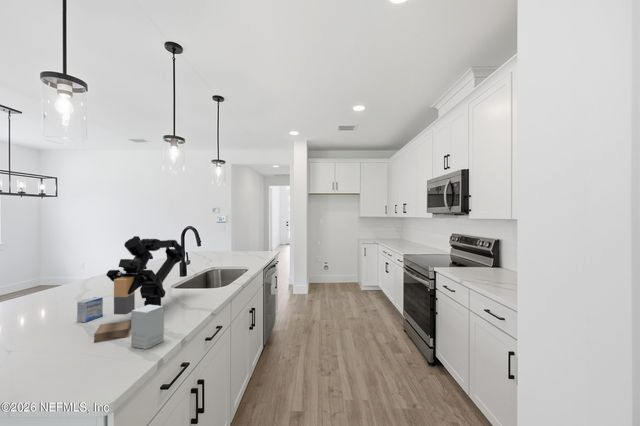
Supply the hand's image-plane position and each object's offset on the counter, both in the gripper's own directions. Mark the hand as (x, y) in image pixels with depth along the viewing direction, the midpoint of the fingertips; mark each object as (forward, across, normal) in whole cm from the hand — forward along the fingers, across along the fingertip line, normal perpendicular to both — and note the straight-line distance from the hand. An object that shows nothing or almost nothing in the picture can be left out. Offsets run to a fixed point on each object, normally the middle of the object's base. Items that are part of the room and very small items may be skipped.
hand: (122, 294), depth 114 cm
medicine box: (+4, -21, +16) cm, 27 cm away
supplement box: (+20, +20, 0) cm, 28 cm away
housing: (+5, 0, +6) cm, 8 cm away
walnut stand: (+14, +2, +5) cm, 15 cm away
